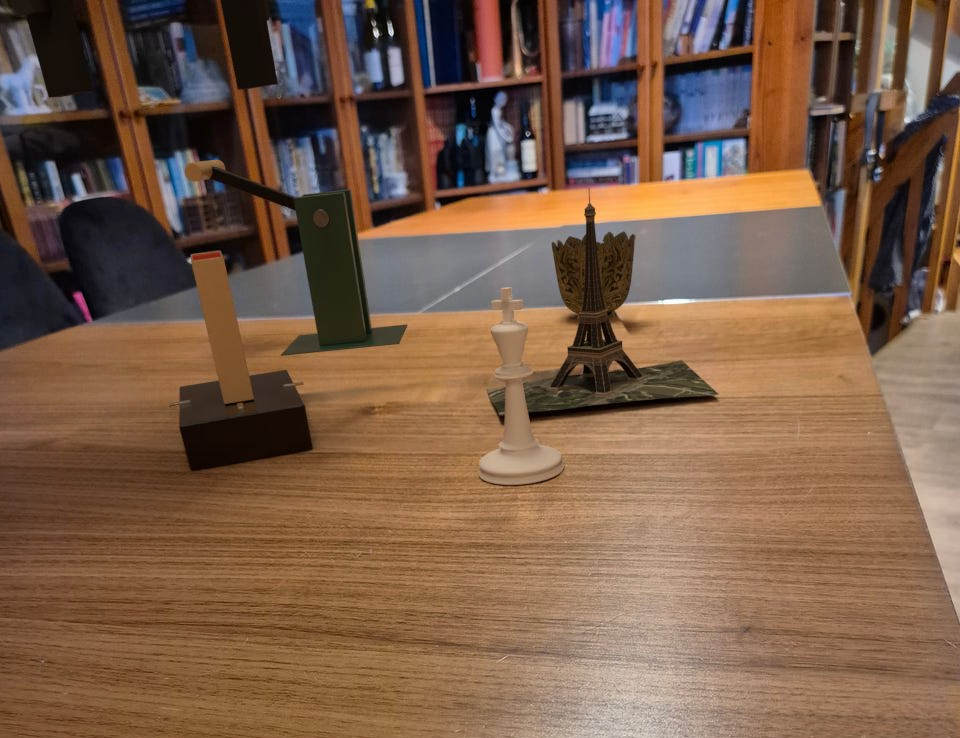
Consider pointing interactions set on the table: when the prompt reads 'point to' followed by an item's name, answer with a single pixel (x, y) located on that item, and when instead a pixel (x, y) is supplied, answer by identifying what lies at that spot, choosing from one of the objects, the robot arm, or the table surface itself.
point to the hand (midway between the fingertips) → (173, 91)
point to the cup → (612, 268)
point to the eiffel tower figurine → (602, 359)
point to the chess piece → (516, 410)
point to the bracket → (336, 277)
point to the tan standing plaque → (222, 326)
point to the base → (242, 422)
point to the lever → (236, 182)
